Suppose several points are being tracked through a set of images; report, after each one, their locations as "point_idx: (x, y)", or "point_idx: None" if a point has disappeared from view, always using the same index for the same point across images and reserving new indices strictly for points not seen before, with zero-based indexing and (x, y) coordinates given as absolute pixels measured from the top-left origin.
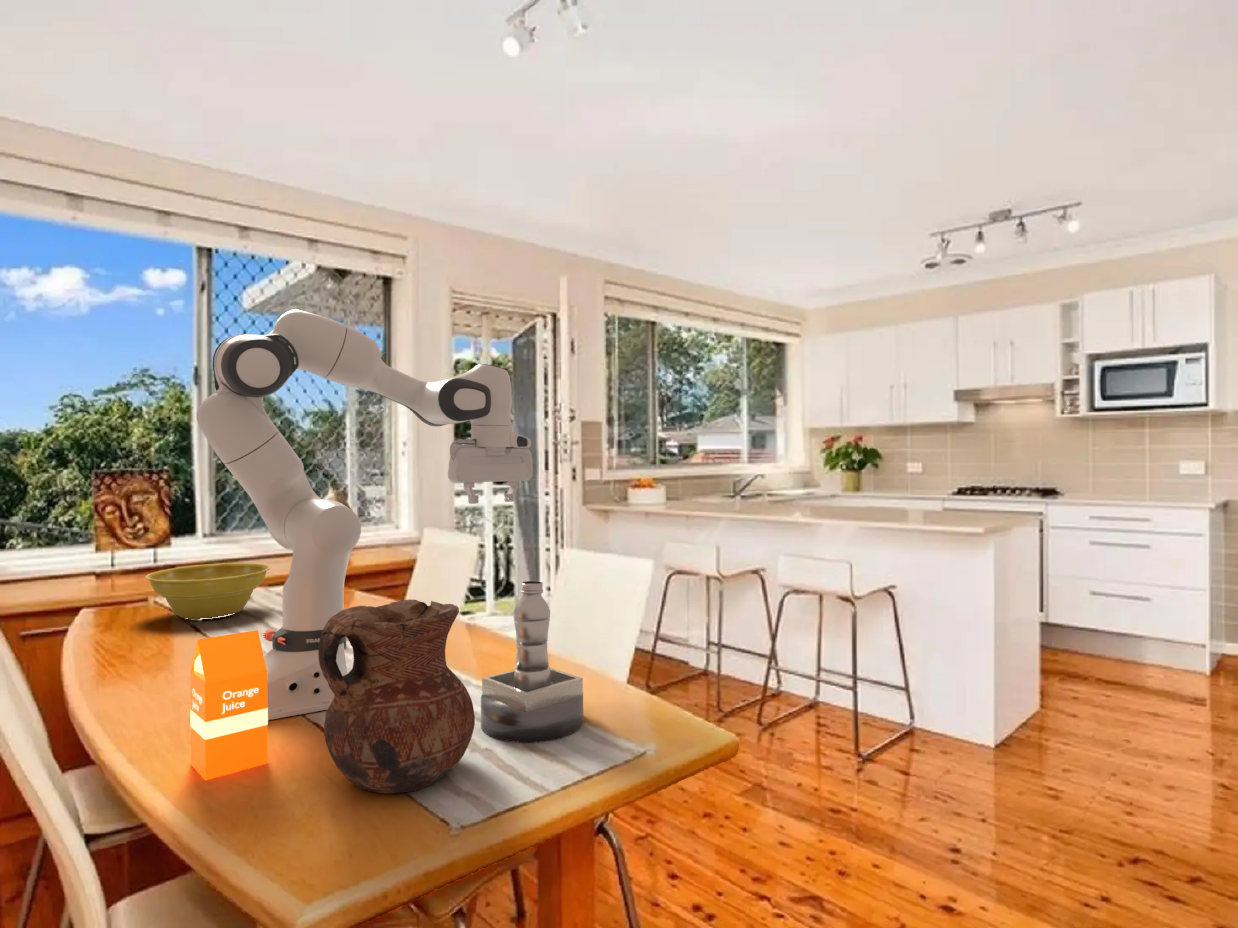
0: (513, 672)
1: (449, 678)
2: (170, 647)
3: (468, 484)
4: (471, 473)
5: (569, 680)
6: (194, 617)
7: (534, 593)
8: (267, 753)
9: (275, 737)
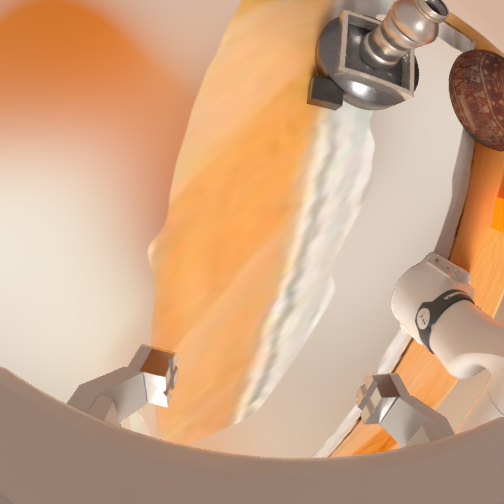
0: (378, 78)
1: (498, 58)
2: (356, 452)
3: (450, 432)
4: (486, 462)
5: (358, 16)
6: None
7: (433, 3)
8: (501, 198)
9: (477, 233)
